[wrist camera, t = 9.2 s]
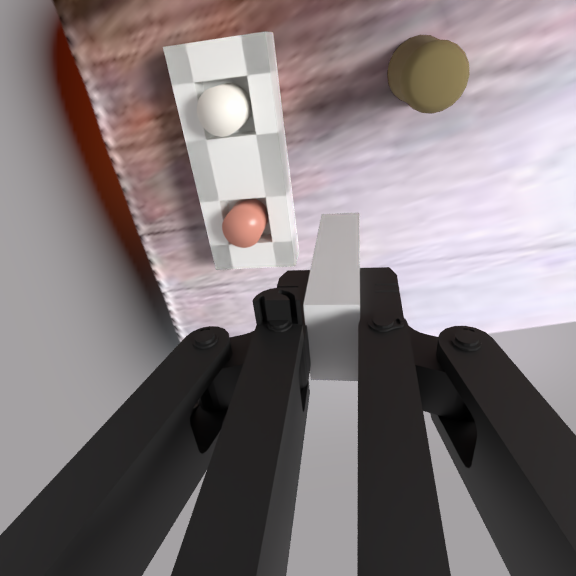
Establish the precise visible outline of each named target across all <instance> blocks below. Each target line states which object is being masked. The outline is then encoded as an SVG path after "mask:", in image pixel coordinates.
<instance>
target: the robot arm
mask: <svg viewBox="0 0 576 576" xmlns="http://www.w3.org/2000/svg"><path fill="white" fill-rule="evenodd" d="M253 306H254V312H255V317H256V323H257V326H256V329H255V331H253V332H250V333H247V334H244V335H239V336H235V337H230V338H229V333H228V332H227V331H226V330H225V329H223V328H220V327H213V326H209V327H204V328H200V329H198V330H195V331H193V332H191V333H190V334H189V335H188V336H186V337H185V338H184V339H183V340H182V342H181V343H180V344H179V345H178V346H177V347H176V348H175V349H174V350H173V351H172V352H171V353H170V354H169V355H168V357H167V358H166V359H165V360H164V361H163V362H162V363H161V364H160V365H159V366H158V367H157V368H156V369H155V371H154V372H153V373H152V374H151V375H150V376H149V377H148V378H147V379H146V380H145V381H144V382H143V383H142V384H141V385H140V387H139V388H138V389H137V390H136V391H135V392H134V393H133V394H132V395H131V396H130V397H129V398H128V399H127V400H126V401H125V403H124V404H123V405H122V406H121V407H120V408H119V409H118V410H117V411H116V412H115V413H114V414H113V415H112V417H111V418H110V419H109V420H108V421H107V422H106V423H105V424H104V425H103V426H102V427H101V428H100V429H99V430H98V432H97V433H96V434H95V435H94V436H93V437H92V438H91V439H90V440H89V441H88V442H87V443H86V444H85V446H83V448H82V449H81V450H80V451H79V452H78V453H77V454H76V455H75V456H74V457H73V458H72V459H71V460H70V462H69V463H67V465H66V466H65V467H64V468H63V469H62V470H61V471H60V472H59V473H58V474H57V475H56V476H55V477H54V478H53V480H52V481H51V482H50V483H49V484H48V485H47V486H46V487H45V488H44V489H43V490H42V491H41V492H40V493H39V495H38V496H37V497H36V498H35V499H34V500H33V501H32V502H31V503H30V504H29V505H28V506H27V507H26V508H25V510H24V511H23V512H22V513H21V514H20V515H19V516H18V517H17V518H16V519H15V520H14V521H13V522H12V524H11V525H10V526H9V527H8V528H7V529H6V530H5V531H4V532H3V533H2V534H1V535H0V576H142V575H143V573H144V571H145V570H146V568H147V566H148V565H149V563H150V561H151V560H152V558H153V557H154V555H155V553H156V551H157V550H158V549H159V547H160V545H161V544H162V542H163V540H164V539H165V537H166V535H167V534H168V532H169V531H170V529H171V527H172V526H173V524H174V522H175V521H176V519H177V518H178V516H179V514H180V512H181V511H182V509H183V508H184V506H185V504H186V503H187V501H188V500H189V498H190V496H191V495H192V493H193V491H194V490H195V488H196V487H197V485H198V483H199V482H200V480H201V478H202V477H203V475H204V473H205V472H206V470H207V472H206V475H205V478H204V481H203V483H202V487H201V489H200V493H199V495H198V498H197V501H196V504H195V507H194V510H193V513H192V516H191V518H190V521H189V525H188V527H187V530H186V533H185V536H184V539H183V542H182V545H181V548H180V551H179V554H178V556H177V559H176V563H175V565H174V568H173V571H172V574H171V576H286V572H287V564H288V557H289V549H290V541H291V533H292V526H293V518H294V510H295V502H296V495H297V486H298V479H299V472H300V464H301V456H302V449H303V440H304V433H305V425H306V418H307V410H308V402H309V394H310V390H309V381H308V379H309V373H310V376H311V380H343V381H358V576H451V574H450V568H449V563H448V556H447V551H446V546H445V539H444V533H443V527H442V521H441V515H440V509H439V503H438V497H437V491H436V485H435V480H434V474H433V468H432V462H431V456H430V450H429V444H428V438H427V432H426V427H425V421H424V415H423V411H426V412H429V413H430V414H431V418H432V420H433V423H434V424H435V426H436V428H437V430H438V432H439V434H440V436H441V438H442V440H443V442H444V444H445V446H446V448H447V450H448V452H449V454H450V456H451V458H452V460H453V462H454V464H455V466H456V468H457V470H458V472H459V474H460V476H461V478H462V480H463V482H464V484H465V486H466V488H467V490H468V492H469V494H470V496H471V498H472V500H473V502H474V504H475V505H476V508H477V510H478V511H479V514H480V516H481V518H482V519H483V522H484V524H485V526H486V528H487V529H488V531H489V533H490V535H491V537H492V539H493V541H494V543H495V545H496V547H497V549H498V551H499V553H500V555H501V557H502V559H503V561H504V563H505V565H506V567H507V569H508V571H509V573H510V575H511V576H576V435H575V434H574V433H573V432H572V431H571V429H570V428H569V427H568V426H567V425H566V424H565V423H564V421H563V420H562V419H561V418H560V417H559V416H558V414H557V413H556V412H555V411H554V410H553V408H552V407H551V406H550V405H549V404H548V403H547V401H546V400H545V399H544V398H543V397H542V396H541V394H540V393H539V392H538V391H537V390H536V389H535V387H534V386H533V385H532V384H531V383H530V382H529V380H528V379H527V378H526V377H525V376H524V374H523V373H522V372H521V371H520V370H519V369H518V367H517V366H516V365H515V364H514V363H513V362H512V360H511V359H510V358H509V357H508V356H507V355H506V353H505V352H504V351H503V350H502V349H501V348H500V346H499V345H498V344H497V343H496V342H495V340H494V339H493V338H492V337H490V336H489V335H488V334H487V333H486V332H484V331H481V330H479V329H477V328H473V327H468V326H453V327H450V328H446V329H445V330H443V331H442V332H441V333H440V334H439V337H435V336H431V335H427V334H423V333H420V332H418V331H416V330H414V329H412V328H411V327H410V326H408V323H407V321H406V319H404V317H403V310H402V304H401V298H400V292H399V286H398V280H397V275H396V274H395V273H394V272H393V271H392V270H391V269H390V268H389V267H385V268H360V240H359V213H343V214H322V215H321V220H320V225H319V229H318V234H317V239H316V244H315V249H314V254H313V259H312V264H311V269H310V270H293V271H287V272H286V273H284V274H283V275H282V276H281V277H280V278H279V281H278V284H277V288H273V289H269V290H266V291H263V292H261V293H260V294H258V295H256V297H255V298H254V299H253Z"/></svg>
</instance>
